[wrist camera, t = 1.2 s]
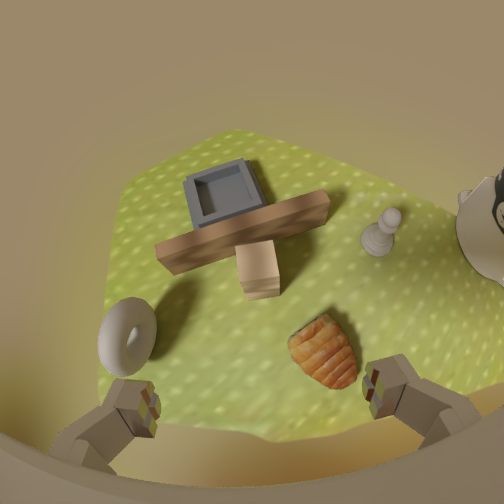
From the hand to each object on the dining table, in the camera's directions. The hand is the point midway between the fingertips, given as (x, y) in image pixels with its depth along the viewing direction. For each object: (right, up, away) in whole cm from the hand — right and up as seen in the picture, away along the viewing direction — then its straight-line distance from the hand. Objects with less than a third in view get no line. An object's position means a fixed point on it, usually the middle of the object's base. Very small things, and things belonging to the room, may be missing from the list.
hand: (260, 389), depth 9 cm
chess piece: (+17, +6, +27) cm, 33 cm away
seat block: (-4, +13, +32) cm, 35 cm away
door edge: (-1, +6, +29) cm, 30 cm away
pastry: (+8, -7, +23) cm, 25 cm away
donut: (-14, -7, +25) cm, 30 cm away
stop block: (+1, +1, +27) cm, 27 cm away
